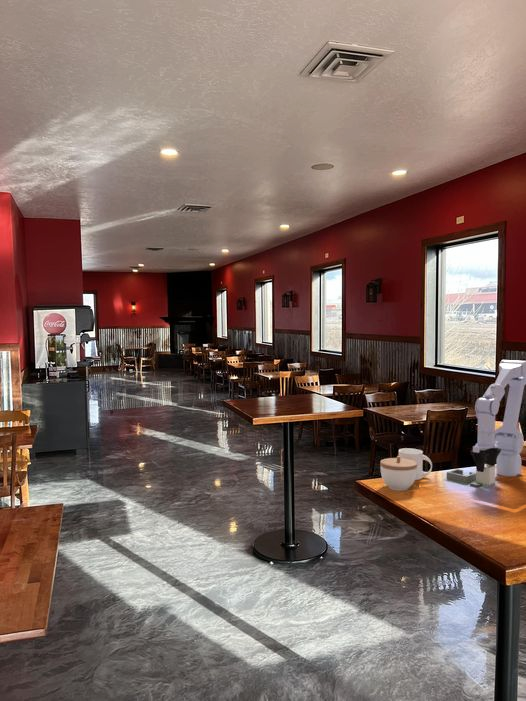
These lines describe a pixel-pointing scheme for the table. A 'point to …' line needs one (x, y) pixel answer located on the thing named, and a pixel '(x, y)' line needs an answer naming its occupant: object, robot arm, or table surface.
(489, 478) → the plug
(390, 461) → the lidded bowl
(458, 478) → the board
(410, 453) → the mug
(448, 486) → the table surface
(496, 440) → the robot arm
